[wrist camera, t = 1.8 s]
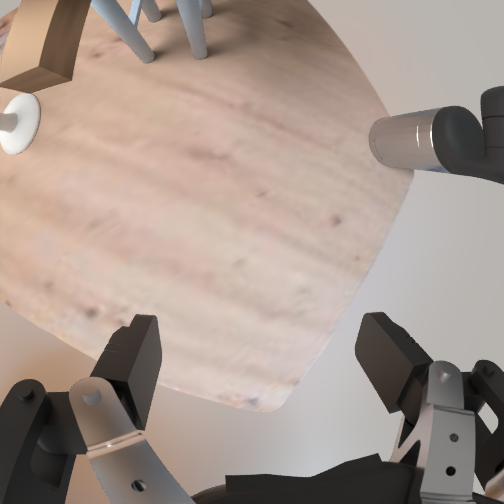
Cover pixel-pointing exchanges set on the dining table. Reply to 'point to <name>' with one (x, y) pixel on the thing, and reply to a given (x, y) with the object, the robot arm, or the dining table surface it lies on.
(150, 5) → the stool
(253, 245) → the dining table surface
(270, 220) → the dining table surface
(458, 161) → the robot arm
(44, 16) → the thin wooden plank
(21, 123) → the candlestick
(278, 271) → the dining table surface
